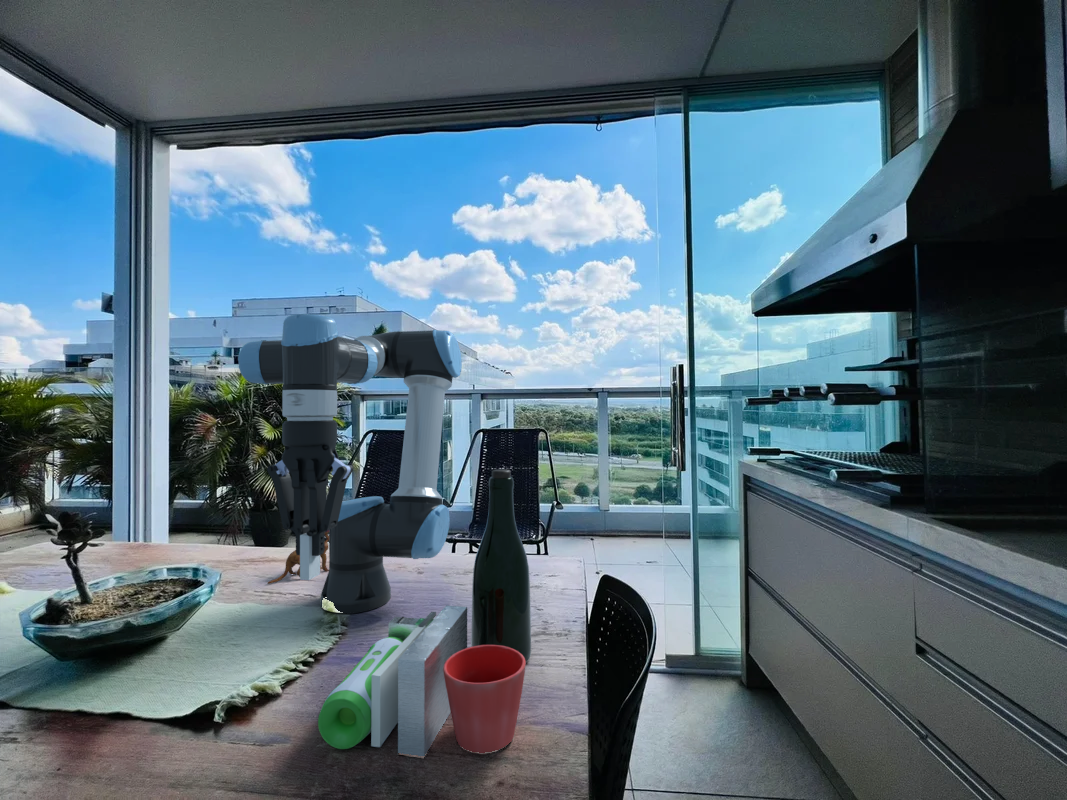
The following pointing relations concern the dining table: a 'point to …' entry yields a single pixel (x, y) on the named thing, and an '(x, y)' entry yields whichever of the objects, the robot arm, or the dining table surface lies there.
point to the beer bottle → (501, 576)
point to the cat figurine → (295, 559)
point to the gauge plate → (389, 689)
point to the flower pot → (484, 695)
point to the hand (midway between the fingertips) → (310, 576)
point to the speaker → (354, 699)
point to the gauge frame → (426, 676)
